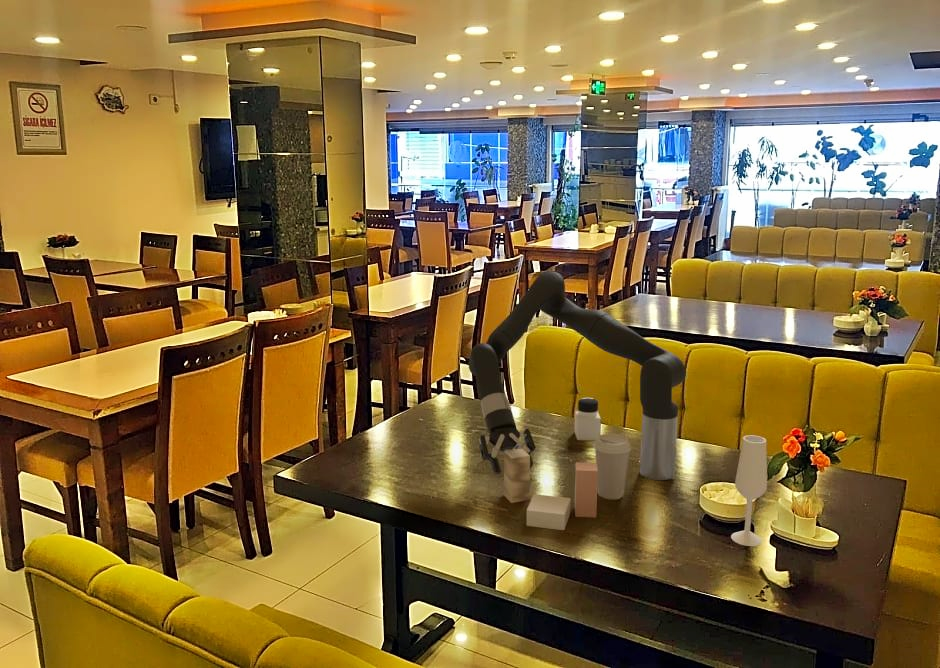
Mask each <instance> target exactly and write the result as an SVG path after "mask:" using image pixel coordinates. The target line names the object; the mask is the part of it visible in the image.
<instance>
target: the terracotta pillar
mask: <svg viewBox="0 0 940 668" xmlns="http://www.w3.org/2000/svg"><path fill="white" fill-rule="evenodd" d="M597 479H598V470H597V463H596V462H584V461H583V462H579V461H577V462H575V479H574V480H575V481H574V514H575V515H574V516H575V517H576V518H597V511H598V510H597V506H598V504H597V503H598V486H597Z"/></svg>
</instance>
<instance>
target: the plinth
mask: <svg viewBox="0 0 940 668" xmlns="http://www.w3.org/2000/svg"><path fill="white" fill-rule="evenodd" d="M530 499H531V500H530V502H529V504H528V506H527V508H526V526H527V527H534V528H542V529H550V530H556V531H557V530H558V531H565V529H566V527H567V523H568V521H569V518H570V515H571V498H570V497H562V496H553V495H544V494H536V493H535V494H533V495H532V497H531V498H530Z"/></svg>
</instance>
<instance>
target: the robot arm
mask: <svg viewBox="0 0 940 668" xmlns="http://www.w3.org/2000/svg"><path fill="white" fill-rule="evenodd" d="M539 310H540V311H541V312H542V313H544V314H546V315H547V316H550V318H551V317H552V318H553V319H555V320H556V321H559V322H561V323H562V324H564V325H566V326H567V327H569V328H570V329H572V330H573V331H575V332H576V333H578V334H579V335H580V336H582V337H583V338H585V339H586V340H587V341H589V342H590V343H591V344H593V345H595V346H596V347H597V348H598V349H600V350H603V352H606V353H608V354H611V355H614V356H617V357H620V358H623V359H625V360H626V359H627V360H629V361H632V362H635V363H636V364H638V365H640V366H641V367H640V368H641V369H640V374H639V401H640V405H641V407H642V417H641V418H642V419H641V439H640V457H639V458H640V463H639V474H640V475H641V476H643V477H644V478H647V479H649V480H653V481H666V480H675V475H676V474H675V473H676V472H675V470H676V457H677V455H676V454H677V436H678V435H677V431H678V419H679V418H678V417H679V416H678V415H679V405H678V404H677V403H676V402H674V401H673V398H672V396H673V393H672V390H673V388H675V387H677V386H679V385H681V384H682V383H683V382H684V381H685V379H686V377H687V369H686V365H685V364H684V362H683V361H682V359H681V358H680V357H679V356H677V355H675V354H674V353H672V352H670V351H668V350H667V349H664V348H662V347H660V346H659V345H656V344H654V343H653V342H651V341H649V340H648V339H646V338H644V337H643V336H641V335H640V334H639V333H637V332H635V331H634V330H633V329H631V328H629V327H628V326H626V325H625V324H623V323H622V322H620V321H619V320H618V319H616V318H615V317H614V316H612V315H610V314H609V313H607V312H605V311H603V310H601V309H600V310H599V309H591V308H589V309H588V308H582V307H580V306H578V305H576V304H575V303H574V302H572V301H571V300H569V299H568V298H567V295H566V284H565V279H564V277H563V276H562V275H561V274H560V273H558V272H556V271H546V272H542V273H540V274H539V275H538V276H537V277H536V278H535V279H534V281H533V282H532V283H531V285H530V287H529V288H528V289H527V291H526V292H525V294H524V295H523V296H522V298H520V300H519V302H518V303H517V305H516V306H514V309H512V311H511V312H510V313H509V314H508V315H507V316H506V317H505V318H504V319H503V321H502V322H501V323H500V324H499V325H498V326H497V327H496V328H495V329H493V331H492V332H491V333H490V334H489V335H488V338H487V339H486V342H480V343H478V344H476V345H474V346H473V347H472V349H471V351H470V355H469V360H468V370H469V372H470V373H471V374H472V375H473V376H474V377H476V390H477V394H478V397H479V400H480V406H481V412H482V416H483V419H484V422H485V427H486V430H487V433H488V436H487V435H486V436H485V435H483V434H482V435H480V437H479V439H478V446H479V450H480V455H481V459H482V460H483V461H489V462H490V465H491V468H492V472H493V473H495V474H496V475H500V474H501V472H502V470H501V467H500V462H499V460H498V457H497V455H498V453H499V451H500V452H504V451H509V450H516V449H523V450H524V451H525V452H527V453H528V454H529V455H530V470H531V468H532V467H533V464H534V461H533V458H532V456H531V454H533V452H534V451H535V449H536V447H537V446H536V444H535V442H534V439H533V436H532V433H531V430H530V429H529V428H525V429H524V430H520V431H519V429H517V425H516V421H515V417H514V415H513V411H512V407H511V404H510V402H509V399H508V397H507V395H506V391H505V388H504V385H503V382H502V378H501V372H500V371H501V370H500V366H499V364H500V363H501V362H502V360H503V359H504V357H505V356H506V354H507V353H508V352H510V350H511V349H512V348H513V347H514V346H515V345H516V344H517V343H518V342H519V341H520V340H521V339H522V337H524V335H525V334H526V331H528V328H529V327H530V324H531V323H532V320H533V319H534V317H535V316H536V314H537V312H538V311H539ZM520 437H521V439H522V440H524V442H523V441H522V440H520ZM488 443H490V444H491V445H492V446H493V448H492V451H491V453H489V449H488Z"/></svg>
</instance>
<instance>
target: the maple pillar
mask: <svg viewBox="0 0 940 668" xmlns="http://www.w3.org/2000/svg"><path fill="white" fill-rule="evenodd" d="M530 455H531V454H530ZM530 455H529V454H528V453H527V452H525V451H524V450H523V449H516V450H515V449H512V450H505V451H503V496H504V497H505V498H506V499H507V501H509V502H510V503H511V504H515V503H518V502H526V501H531V500H530V499H531V498H530V493H531V492H530V491H531V490H530V489H531V487H530V486H531V481H530V480H531V475H530V474H531V469H530Z"/></svg>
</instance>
